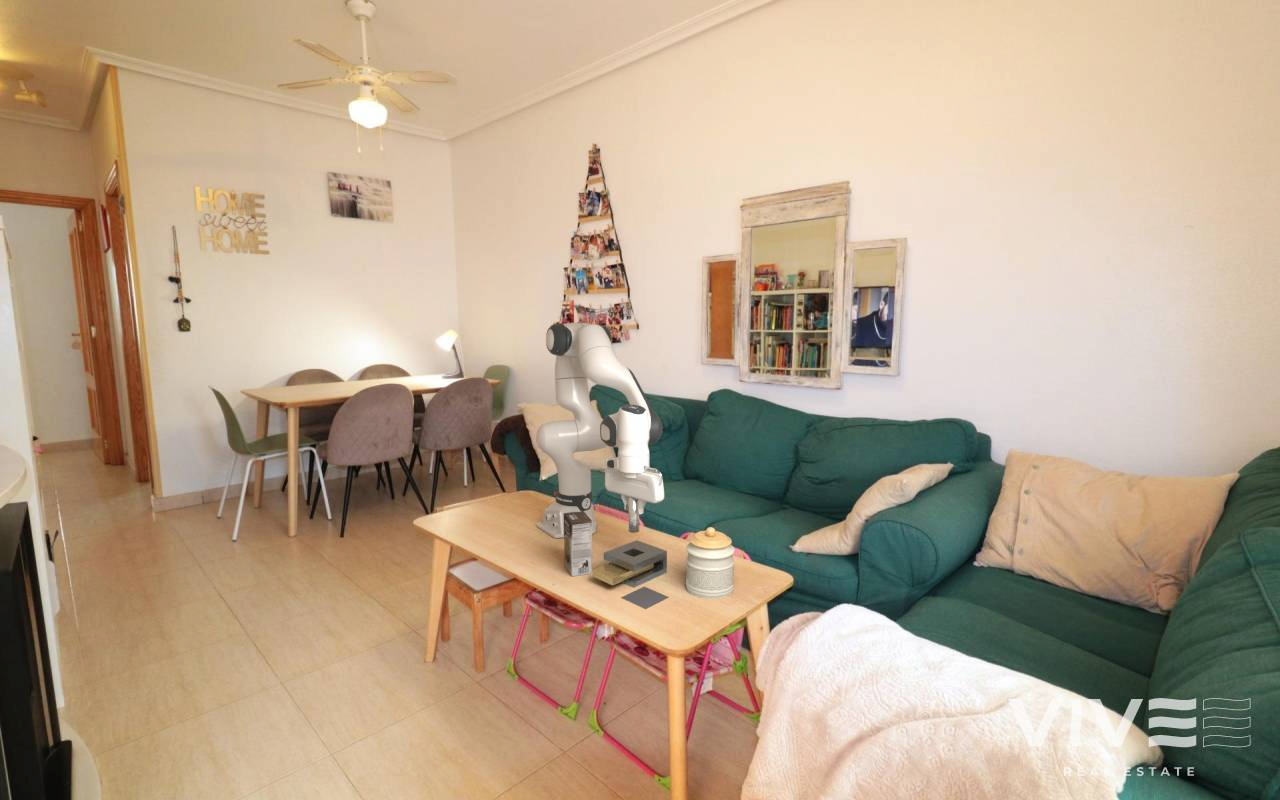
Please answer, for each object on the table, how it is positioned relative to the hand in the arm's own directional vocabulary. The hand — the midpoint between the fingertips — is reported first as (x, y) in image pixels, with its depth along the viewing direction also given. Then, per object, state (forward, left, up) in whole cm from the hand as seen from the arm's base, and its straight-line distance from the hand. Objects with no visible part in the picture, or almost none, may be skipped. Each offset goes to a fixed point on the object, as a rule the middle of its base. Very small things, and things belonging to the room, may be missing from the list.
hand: (633, 511), depth 165 cm
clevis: (0, -2, -19) cm, 19 cm away
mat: (+12, -8, -19) cm, 24 cm away
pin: (0, 0, -6) cm, 6 cm away
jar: (+21, +8, -19) cm, 29 cm away
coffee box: (-15, -8, -19) cm, 26 cm away
